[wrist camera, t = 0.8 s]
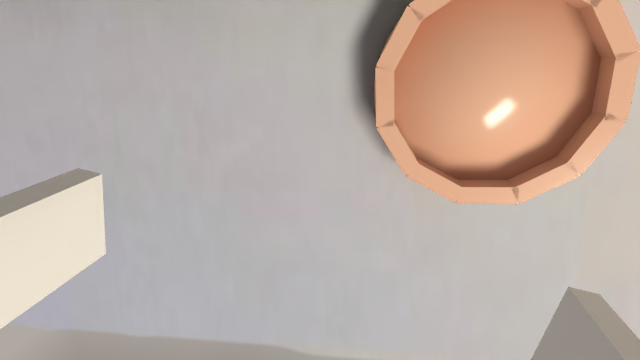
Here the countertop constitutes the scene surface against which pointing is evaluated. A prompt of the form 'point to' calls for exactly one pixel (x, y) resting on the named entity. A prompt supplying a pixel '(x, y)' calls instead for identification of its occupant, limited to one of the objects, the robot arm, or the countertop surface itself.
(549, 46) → the tray
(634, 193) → the countertop surface
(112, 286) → the countertop surface
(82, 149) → the countertop surface
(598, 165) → the countertop surface
